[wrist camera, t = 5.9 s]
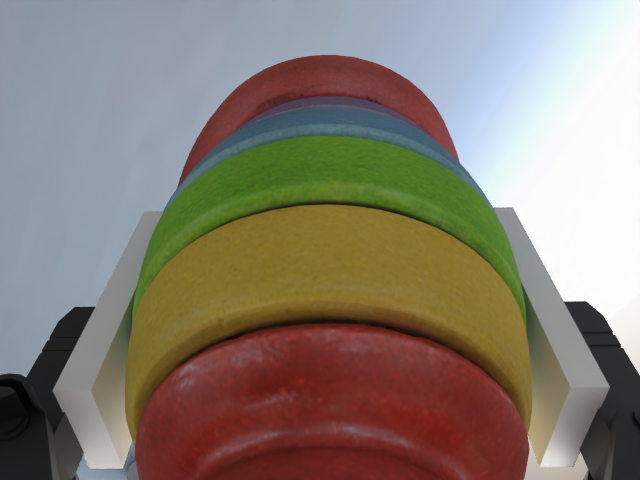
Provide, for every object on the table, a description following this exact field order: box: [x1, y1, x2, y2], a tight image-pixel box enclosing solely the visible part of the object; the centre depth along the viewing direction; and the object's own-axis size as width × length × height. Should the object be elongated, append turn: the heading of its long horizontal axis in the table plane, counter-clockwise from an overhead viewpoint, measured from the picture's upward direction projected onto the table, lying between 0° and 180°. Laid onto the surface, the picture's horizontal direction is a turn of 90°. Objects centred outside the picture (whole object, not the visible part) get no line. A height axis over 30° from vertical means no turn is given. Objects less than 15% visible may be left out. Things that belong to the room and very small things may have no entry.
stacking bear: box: [125, 55, 532, 480], centre depth 12 cm, size 11×10×18 cm
